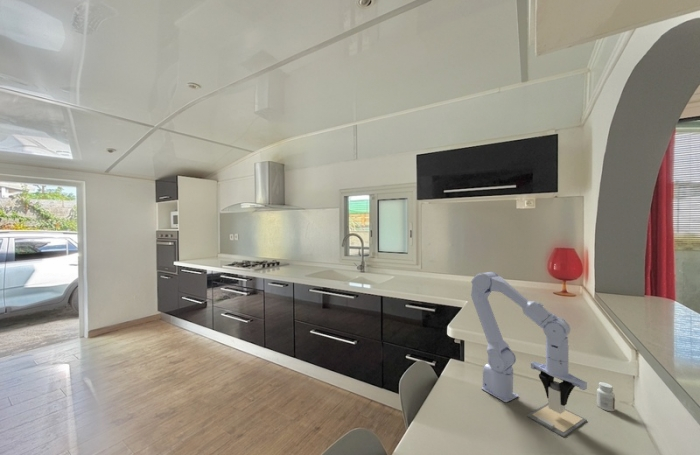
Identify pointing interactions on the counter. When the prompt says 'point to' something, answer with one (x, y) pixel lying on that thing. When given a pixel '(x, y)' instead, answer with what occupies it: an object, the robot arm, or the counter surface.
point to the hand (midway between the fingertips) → (556, 401)
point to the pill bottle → (605, 397)
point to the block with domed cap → (555, 397)
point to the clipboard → (557, 420)
